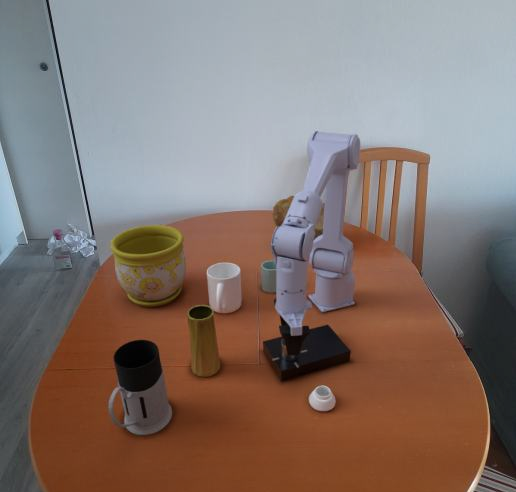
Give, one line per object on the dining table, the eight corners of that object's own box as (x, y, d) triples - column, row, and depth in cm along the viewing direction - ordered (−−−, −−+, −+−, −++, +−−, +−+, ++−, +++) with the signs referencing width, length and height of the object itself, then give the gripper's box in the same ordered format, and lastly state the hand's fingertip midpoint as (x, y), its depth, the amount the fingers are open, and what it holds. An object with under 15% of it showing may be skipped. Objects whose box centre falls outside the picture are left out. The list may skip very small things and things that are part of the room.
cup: (276, 280, 125) (276, 258, 121) (284, 290, 120) (284, 267, 117) (258, 284, 123) (258, 262, 120) (265, 294, 119) (265, 271, 115)
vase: (197, 381, 91) (191, 324, 84) (187, 363, 96) (180, 308, 89) (225, 371, 93) (221, 315, 86) (213, 354, 98) (209, 300, 91)
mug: (236, 324, 107) (234, 288, 102) (202, 322, 108) (199, 286, 103) (244, 297, 118) (242, 263, 113) (213, 295, 119) (210, 261, 114)
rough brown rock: (273, 259, 137) (274, 216, 129) (271, 232, 151) (272, 192, 142) (348, 260, 137) (354, 217, 129) (339, 233, 151) (345, 193, 143)
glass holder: (179, 402, 86) (170, 340, 79) (147, 465, 74) (132, 400, 66) (137, 395, 88) (125, 334, 80) (99, 456, 76) (80, 391, 68)
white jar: (327, 390, 88) (304, 397, 86) (327, 378, 87) (304, 386, 85) (340, 408, 84) (316, 416, 82) (341, 396, 82) (317, 404, 81)
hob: (327, 334, 103) (327, 323, 102) (350, 362, 95) (352, 351, 93) (261, 352, 98) (261, 341, 97) (280, 383, 90) (280, 372, 88)
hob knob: (280, 350, 94) (280, 335, 92) (297, 349, 94) (297, 334, 92) (282, 361, 91) (282, 347, 89) (299, 360, 91) (300, 346, 89)
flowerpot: (127, 320, 109) (115, 262, 101) (116, 285, 124) (105, 232, 116) (197, 302, 116) (192, 246, 108) (179, 271, 130) (173, 219, 122)
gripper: (320, 305, 78) (316, 364, 85) (305, 265, 91) (303, 319, 97) (280, 308, 78) (279, 367, 84) (271, 267, 90) (271, 321, 97)
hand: (290, 341), depth 91 cm, fingers open, 7 cm apart
